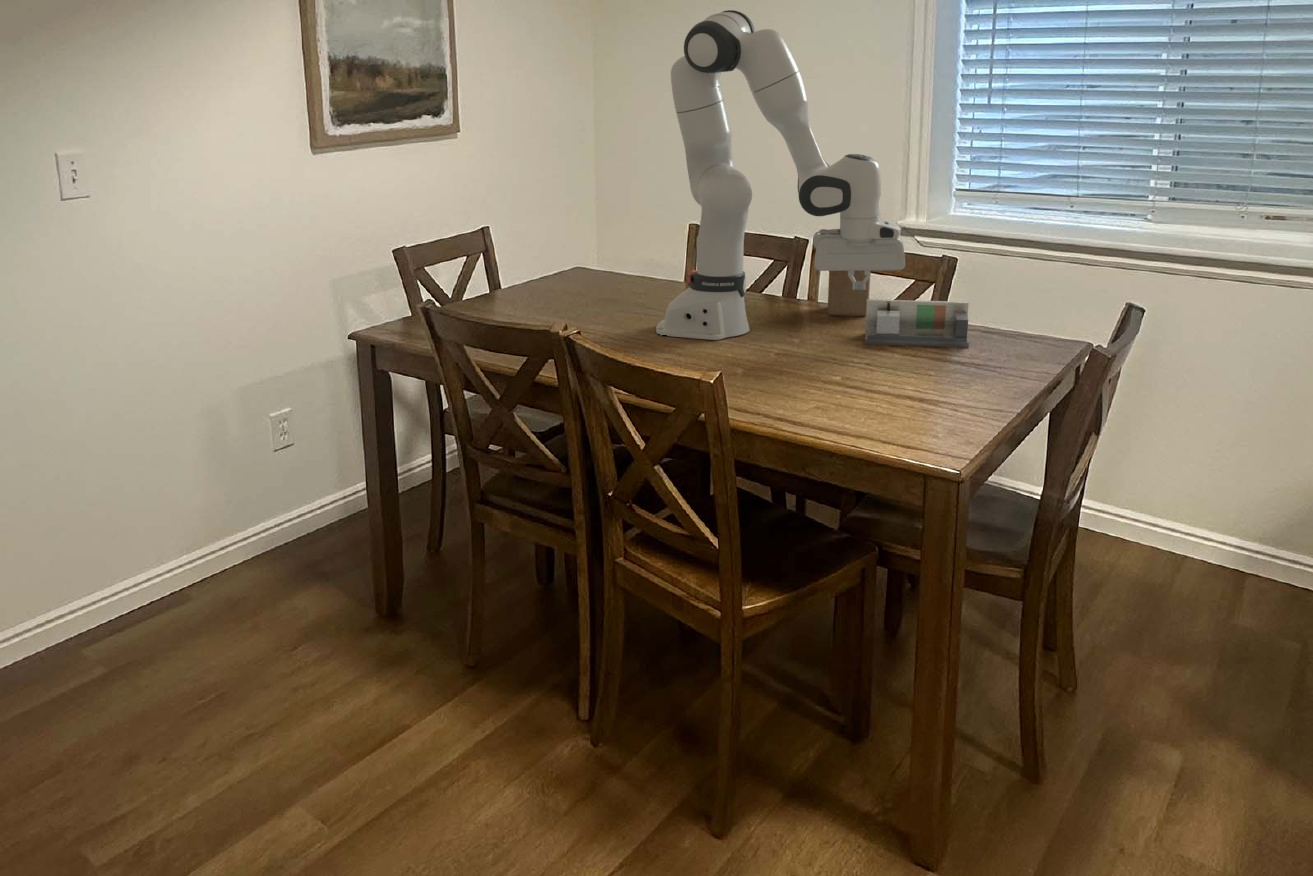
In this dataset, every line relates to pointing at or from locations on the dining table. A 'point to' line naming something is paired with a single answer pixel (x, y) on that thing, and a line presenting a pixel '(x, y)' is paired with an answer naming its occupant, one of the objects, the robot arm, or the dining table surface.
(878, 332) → the gauge carriage
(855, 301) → the wooden block
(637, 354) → the dining table surface
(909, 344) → the bench
